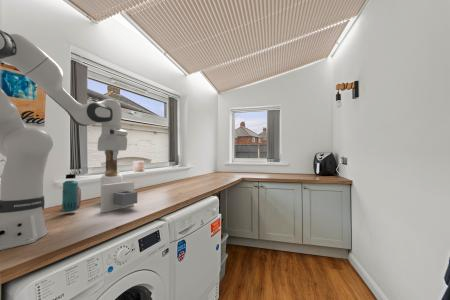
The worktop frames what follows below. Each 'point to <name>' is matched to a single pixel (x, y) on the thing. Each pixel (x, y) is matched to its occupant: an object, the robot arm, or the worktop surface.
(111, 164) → the walnut rail
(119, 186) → the white grey blocky piece
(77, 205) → the soda can
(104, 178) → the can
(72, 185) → the beverage bottle
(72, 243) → the worktop surface
